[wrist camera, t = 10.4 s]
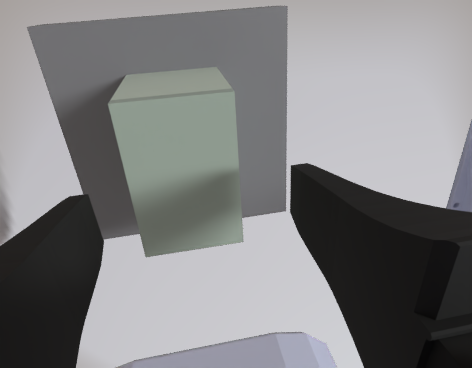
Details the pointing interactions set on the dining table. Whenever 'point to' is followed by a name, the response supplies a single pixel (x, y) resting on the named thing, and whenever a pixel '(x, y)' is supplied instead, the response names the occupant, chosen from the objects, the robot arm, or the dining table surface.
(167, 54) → the stand
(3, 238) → the dining table surface
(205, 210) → the block
